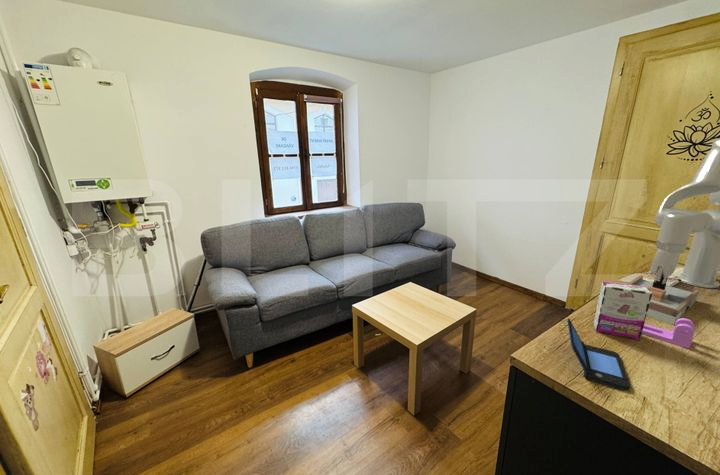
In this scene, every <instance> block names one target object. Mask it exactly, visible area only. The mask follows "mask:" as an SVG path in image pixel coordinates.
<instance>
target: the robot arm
mask: <svg viewBox="0 0 720 475" xmlns="http://www.w3.org/2000/svg"><path fill="white" fill-rule="evenodd" d="M705 195H709V198H708V201H709V203H710V204H711V205H713V206H717V207H720V137H719V138H717V139H715V140H714V141H713V142H712V144H711V148H710V150H708V151H707V152H706V155H705V156H704V158H703V160H702V161H701V164H700V165H699V167H698V169H697V170H696V173H695V175H694V176H693V178H692V180H691V181H690V182H689V183H686V184H685V185H683V186H680V187H679V188H677V189H675V190H674V191H671V193H669V194H668V195H667V196H666V197H665V198H664V199H663V200H662V202H661V204H660V206H659V208H658V209H657V211H656V214H655V216H654V222H655V224H656V225H657V226H660V229H659V233H658V237H657V241H656V244H655V247H654V248H655V250H657V251H656V252H655V255H654V258H653V260H652V264H651V267H650V269H649V272H648V274H649V275H650V276H652V275H654V280H653V281H652V282H653V286H652V287H654V288H658V289H662V290H665V287H666V286H667V282H668V281H669V277H670V276H672V275H673V274H674V272H675V271H676V268H677V264H678V262H679V258H680V255H681V254H685V252H686V250H687V246H688V242H689V240H690V236H691V233H693V237H692V241H691V243H690V248H689V251H688V253H687V254H688V255H687V258H686V261H685V264H684V268H683V269H682V273H681V274H682V277H683V279H681V281H680V282H681V283H685V284H687V285H690V286H693V287H694V286H695V287H699V288H707V289H717V288H719V287H720V282H719V281H718V280H716V279H717V277H718V274H719V271H720V209H712V208H711V209H705V210H701V211H700V210H691V209H684V208H676V207H675V206H676V205H677V204H679V203H681V202H682V201H684V200H688V199H690V198H693V197H694V198H695V197H698V196H705Z"/></svg>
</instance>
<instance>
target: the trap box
mask: <svg viewBox="0 0 720 475" xmlns="http://www.w3.org/2000/svg"><path fill="white" fill-rule="evenodd" d="M643 278H644V275H639V276H637V277H636V278H634V279H632V280H631V281H630V282H628V283H627V284H628V285H636V286H643V287H647V286H651V287H652V286H653V282H654V281H651V280H647V279H643ZM665 291H666V294H665V297H664V299H662V300H661V301H660V302H658V301H655V300H652V299H651V300H650V304H649V308H648V312H647V315H646V317H648V318H651V319H655V320H656V321H660V322H663V323H666V324H669V325H672V326H674V325H675V324H676V321H677V320H678V319H680V318H681V317H682V316H683V315H685V313H686V312H687V311H688V310H689V309H690V308H691V307H692V306H693V305H694V304H695V303H696V301H697V299H698V296H699V293H700V290H699V289H697V288H696V289H694V290H693V291H689V290H684V289H681V288H678V287H674V286H669V285H666V287H665Z"/></svg>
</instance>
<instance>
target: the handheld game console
mask: <svg viewBox="0 0 720 475" xmlns="http://www.w3.org/2000/svg"><path fill="white" fill-rule="evenodd" d="M567 326H568V335H569V340H570V346H571V348H572V351H573V352H574V355H575V356H576V359H577V360H578V362H579V363H580V365H581V367H582V369H583V376H584V378H585V379H586V380H590V381H593V382H595V383H596V382H597V383H601V384H604V385H606V386H610V387H613V388H617V389H619V390H623V391H629V390H630V389H631V382H630V381H629V377H628V375H627V372H626V370H625V369H626V368H624V363H623V362H622V359H621V356H620V354H619V353H618V352H616V351H614V350H608V349H604V348H602V347H597V346H593V345H589V344H585V342H584V341H582V339H581V338H580V335H579V334H578V332H577V330H576V328H575V326H574V325H573V323H572V320H571V319H570V318H567Z"/></svg>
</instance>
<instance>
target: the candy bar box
mask: <svg viewBox="0 0 720 475" xmlns="http://www.w3.org/2000/svg"><path fill="white" fill-rule="evenodd" d="M599 292H600V293H599V296H598V301H597V304H596V305H597V306H596V310H595V315H594V319H593V327H594V330H595V332H596V333H600V334H604V335H605V334H606V335H612V336H615V337H622V338H626V339H632V340H635V341H636V340H637V341H641V338H642V335H643V334H642V331H643V327H644V323H645V324H646V318H647V316H646V315H647V312H648V308H649V304H650V300H651V297H652V292H651V291H650V290H649V289H648V288H647V287H643V286H636V285H628V283H620V282H619V283H618V282H613V281H601V286H600V290H599Z"/></svg>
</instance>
